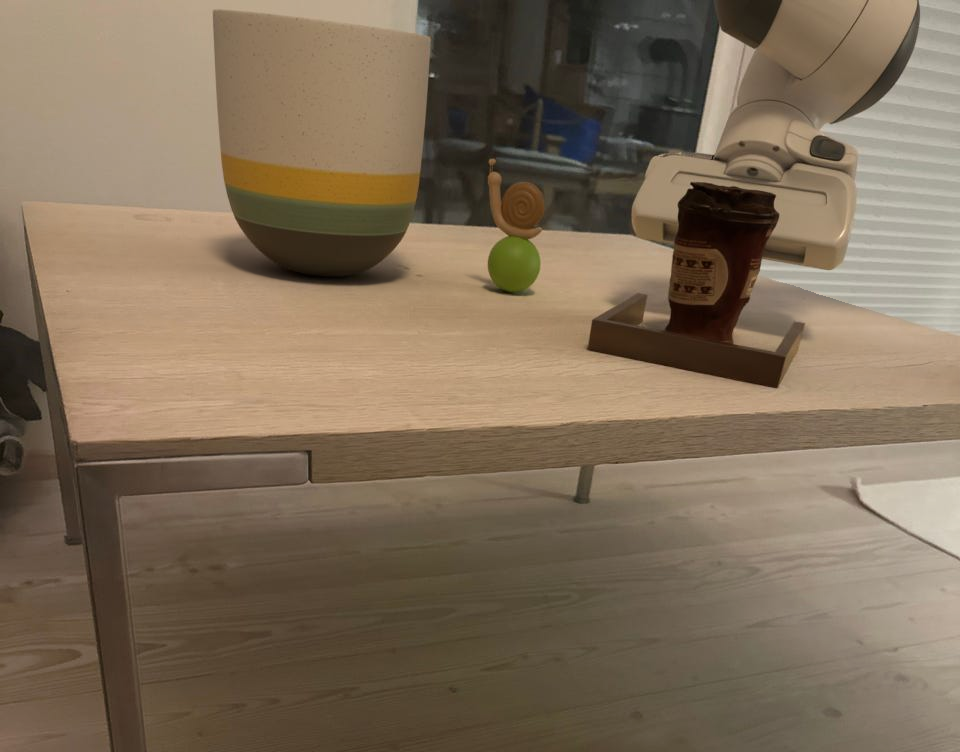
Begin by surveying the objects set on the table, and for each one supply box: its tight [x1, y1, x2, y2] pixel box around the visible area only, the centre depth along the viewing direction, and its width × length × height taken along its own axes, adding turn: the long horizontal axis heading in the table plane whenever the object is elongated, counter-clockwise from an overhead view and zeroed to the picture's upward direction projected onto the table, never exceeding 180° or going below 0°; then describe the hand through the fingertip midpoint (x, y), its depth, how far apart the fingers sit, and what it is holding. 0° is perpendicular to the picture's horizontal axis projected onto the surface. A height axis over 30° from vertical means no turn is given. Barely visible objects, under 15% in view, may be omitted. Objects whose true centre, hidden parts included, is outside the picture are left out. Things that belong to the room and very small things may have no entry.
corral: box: [587, 292, 806, 389], centre depth 81 cm, size 16×16×2 cm
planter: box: [212, 8, 432, 278], centre depth 89 cm, size 20×20×21 cm
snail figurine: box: [487, 158, 546, 293], centre depth 93 cm, size 5×6×12 cm
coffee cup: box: [663, 182, 779, 344], centre depth 81 cm, size 9×8×13 cm
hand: (717, 285), depth 85 cm, fingers closed, pressing on coffee cup
